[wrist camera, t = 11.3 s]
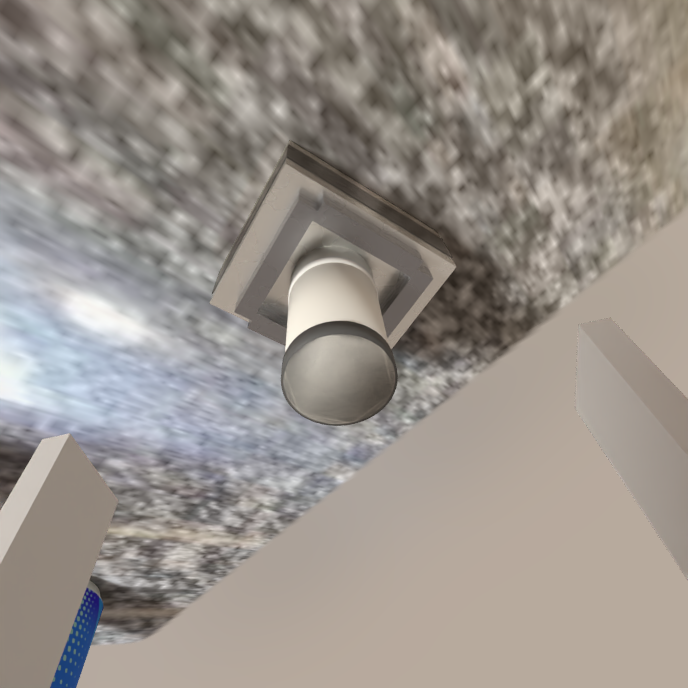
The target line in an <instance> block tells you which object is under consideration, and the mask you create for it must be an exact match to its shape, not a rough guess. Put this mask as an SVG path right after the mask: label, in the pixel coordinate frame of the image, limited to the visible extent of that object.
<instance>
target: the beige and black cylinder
mask: <svg viewBox="0 0 688 688" xmlns="http://www.w3.org/2000/svg"><path fill="white" fill-rule="evenodd" d="M397 377H398V375H397V368H396V364H395V360H394V356H393V353H392V350H391V348H390V346H389V344H388V339H387V335H386V331H385V326H384V322H383V318H382V314H381V309H380V305H379V301H378V293H377V288H376V285H375V281H374V279H373V275H372V272H371V269H370V267H369V265H368V264H367V262H366V261H365V260H364V259H363V258H362V257H361V256H360V255H359V254H358V253H356V252H355V251H353V250H350V249H348V248H345V247H341V246H324V247H320V248H317V249H314V250H312V251H310V252H308V253H307V254H306V255H304V256H303V257H302V258H301V259H300V260H299V261H298V262H297V264H296V265H295V267H294V269H293V272H292V274H291V279H290V287H289V294H288V320H287V334H286V348H285V355H284V358H283V362H282V374H281V386H282V391H283V394H284V396H285V398H286V400H287V402H288V403H289V405H290V406H291V407H292V408H293V409H294V410H295V411H296V412H297V413H299V414H300V415H301V416H303V417H305V418H307V419H309V420H311V421H313V422H316V423H320V424H324V425H333V426H341V425H350V424H355V423H358V422H361V421H364V420H366V419H368V418H370V417H372V416H374V415H375V414H377V413H378V412H379V411H381V410H382V409H383V408H384V407H385V406H386V405H387V404H388V402H389V401H390V400H391V398H392V396H393V394H394V392H395V389H396V386H397Z"/></svg>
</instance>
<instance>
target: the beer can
mask: <svg viewBox="0 0 688 688" xmlns="http://www.w3.org/2000/svg"><path fill="white" fill-rule="evenodd" d="M102 610H103V601H102V599H101V597H100V591H99V589H98V587H97V586H96V585H95V584H94V583H93V582H91V581H90V580H89V583H88V585H87V588H86V591H85V593H84V596H83V599H82V602H81V604H80V607H79V610H78V613H77V615H76V618H75V621H74V623H73V626H72V629H71V632H70V634H69V637H68V640H67V643H66V645H65V648H64V651H63V653H62V656H61V659H60V662H59V664H58V667H57V670H56V672H55V675H54V678H53V681H52V683H51V686H50V688H76V686H77V683H78V680H79V677H80V674H81V672H82V669H83V666H84V663H85V660H86V657H87V654H88V651H89V648H90V645H91V642H92V640H93V637H94V634H95V631H96V628H97V625H98V622H99V619H100V616H101V613H102Z"/></svg>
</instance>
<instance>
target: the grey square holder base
mask: <svg viewBox="0 0 688 688" xmlns="http://www.w3.org/2000/svg"><path fill="white" fill-rule="evenodd" d="M324 246H341V247H345V248H348V249H350V250H353V251H355V252H356V253H358V254H359V255H360V256H361V257H362V258H363V259H364V260H365V261H366V262H367V264H368V265H369V267H370V269H371V272H372V275H373V279H374V281H375V285H376V288H377V293H378V301H379V305H380V309H381V314H382V318H383V322H384V326H385V331H386V335H387V339H388V344H389V346H390V348H391V349H392V348H393V347H394V345H395V344H396V343H397V342H398V340H399V339H400V338H401V337H402V335H403V334H404V333H405V332H406V330H407V329H408V328H409V326H410V325H411V324H412V323H413V321H414V320H415V319H416V318H417V316H418V315H419V314H420V313H421V311H422V310H423V309H424V307H425V306H426V305H427V304H428V302H429V301H430V300H431V299H432V297H433V296H434V295H435V293H436V292H437V291H438V290H439V288H440V287H441V286H442V285H443V283H444V282H445V281H446V280H447V278H448V277H449V276H450V274H451V273H452V272H453V271H454V269H455V268H456V265H455V263H454V261H453V260H452V256H451V254H450V252H449V250H448V249H447V247H446V245H445V243H444V242H443V240H442V238H440V236H439V235H438V233H437V231H435V230H433V229H432V228H430V227H429V226H427V225H425V224H424V223H422V222H420V221H419V220H417V219H416V218H414V217H412V216H411V215H409V214H408V213H406V212H404V211H403V210H401V209H400V208H398V207H396V206H395V205H393V204H392V203H390V202H388V201H387V200H385V199H383V198H382V197H380V196H379V195H377V194H375V193H374V192H372V191H371V190H369V189H367V188H366V187H364V186H363V185H361V184H359V183H358V182H356V181H355V180H353V179H351V178H350V177H348V176H346V175H345V174H343V173H342V172H340V171H338V170H337V169H335V168H334V167H332V166H330V165H329V164H327V163H326V162H324V161H322V160H321V159H319V158H318V157H316V156H314V155H313V154H311V153H309V152H308V151H306V150H305V149H303V148H301V147H300V146H298V145H297V144H295V143H293V142H292V141H290V140H289V142H288V144H287V146H286V147H285V149H284V151H283V153H282V155H281V157H280V159H279V160H278V162H277V164H276V166H275V168H274V170H273V172H272V173H271V175H270V177H269V179H268V181H267V183H266V185H265V186H264V188H263V190H262V192H261V194H260V196H259V198H258V200H257V201H256V203H255V205H254V207H253V209H252V211H251V213H250V214H249V216H248V218H247V220H246V222H245V224H244V226H243V227H242V229H241V231H240V233H239V235H238V237H237V239H236V240H235V242H234V244H233V246H232V248H231V250H230V252H229V253H228V255H227V257H226V259H225V261H224V263H223V265H222V268H221V270H220V272H219V274H218V277H217V280H216V283H215V286H214V289H213V292H212V294H213V295H212V298H211V301H210V304H212V305H214V306H216V307H218V308H220V309H222V310H224V311H226V312H229V313H231V314H233V315H235V316H237V317H239V318H241V319H243V320H245V321H247V322H249V323H248V328H249V329H251V330H253V331H255V332H257V333H259V334H261V335H264V336H266V337H268V338H270V339H272V340H274V341H276V342H278V343H280V344H283V345H285V346H286V334H287V320H288V294H289V287H290V279H291V274H292V272H293V269H294V267H295V265H296V264H297V262H298V261H299V260H300V259H301V258H302V257H303V256H304V255H306V254H307V253H308V252H310V251H312V250H314V249H317V248H320V247H324Z"/></svg>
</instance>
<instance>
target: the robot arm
mask: <svg viewBox="0 0 688 688" xmlns="http://www.w3.org/2000/svg"><path fill="white" fill-rule="evenodd" d="M576 371H577V372H576V391H575V392H576V393H575V409H576V411H577V412H578V414H579V415H580V417H581V418H582V420H583V421H584V423H585V424H586V426H587V428H588V429H589V430H590V432H591V433H592V435H593V437H594V438H595V439H596V441H597V443H598V444H599V446H600V447H601V449H602V450H603V452H604V453H605V455H606V457H607V458H608V460H609V461H610V463H611V464H612V466H613V467H614V469H615V470H616V472H617V473H618V475H619V476H620V478H621V479H622V481H623V482H624V484H625V485H626V487H627V489H628V490H629V491H630V493H631V495H632V496H633V498H634V499H635V501H636V502H637V504H638V505H639V507H640V508H641V510H642V511H643V513H644V515H645V516H646V518H647V519H648V521H649V522H650V524H651V525H652V526H653V528H654V530H655V531H656V533H657V534H658V536H659V537H660V539H661V541H662V542H663V543H664V545H665V547H666V548H667V550H668V551H669V553H670V554H671V556H672V557H673V559H674V560H675V562H676V563H677V565H678V566H679V568H680V569H681V571H682V573H683V574H684V576H685V577H686V579H687V580H688V399H687V398H686V397H685V396H684V395H683V394H682V393H681V391H679V389H678V388H677V387H676V386H675V385H674V384H673V383H672V382H671V381H670V380H669V379H668V378H667V377H666V376H665V375H664V374H663V373H662V372H661V370H660V369H659V368H658V367H657V366H656V365H655V364H654V363H653V362H652V361H651V360H650V359H649V358H648V357H647V356H646V355H645V354H644V353H643V352H642V350H641V349H640V348H639V347H638V346H637V345H636V344H635V343H634V342H633V341H632V340H631V339H630V338H629V337H628V336H627V335H626V334H625V332H624V331H623V330H622V329H620V327H619V326H618V325H617V324H616V323H615V322H614V321H613V320H612V319H611V318H606V319H602V320H597V321H592V322H588V323H583V324H579V325H578V346H577V368H576ZM117 504H118V499H117V498H116V497H115V495H114V494H113V493H112V491H111V490H110V488H109V487H108V486H107V484H106V483H105V481H104V480H103V479H102V477H101V476H100V474H99V473H98V472H97V470H96V469H95V468H94V466H93V465H92V463H91V462H90V461H89V459H88V458H87V456H86V455H85V454H84V452H83V451H82V450H81V448H80V447H79V445H78V444H77V443H76V441H75V440H74V438H73V437H72V436H71V434H65V435H61V436H56V437H51V438H47V439H42V441H41V443H40V444H39V446H38V448H37V449H36V451H35V453H34V454H33V456H32V458H31V460H30V461H29V463H28V465H27V466H26V468H25V470H24V471H23V473H22V475H21V477H20V478H19V480H18V482H17V483H16V485H15V487H14V488H13V490H12V492H11V494H10V495H9V497H8V499H7V500H6V502H5V504H4V505H3V507H2V509H1V511H0V688H50V686H51V683H52V681H53V678H54V675H55V672H56V670H57V667H58V664H59V662H60V659H61V656H62V653H63V651H64V648H65V645H66V643H67V640H68V637H69V634H70V632H71V629H72V626H73V623H74V621H75V618H76V615H77V613H78V610H79V607H80V604H81V602H82V599H83V596H84V593H85V591H86V588H87V585H88V583H89V580H90V577H91V574H92V572H93V569H94V566H95V563H96V561H97V558H98V555H99V553H100V550H101V547H102V544H103V542H104V539H105V536H106V533H107V531H108V528H109V525H110V523H111V520H112V517H113V514H114V512H115V509H116V506H117Z"/></svg>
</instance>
